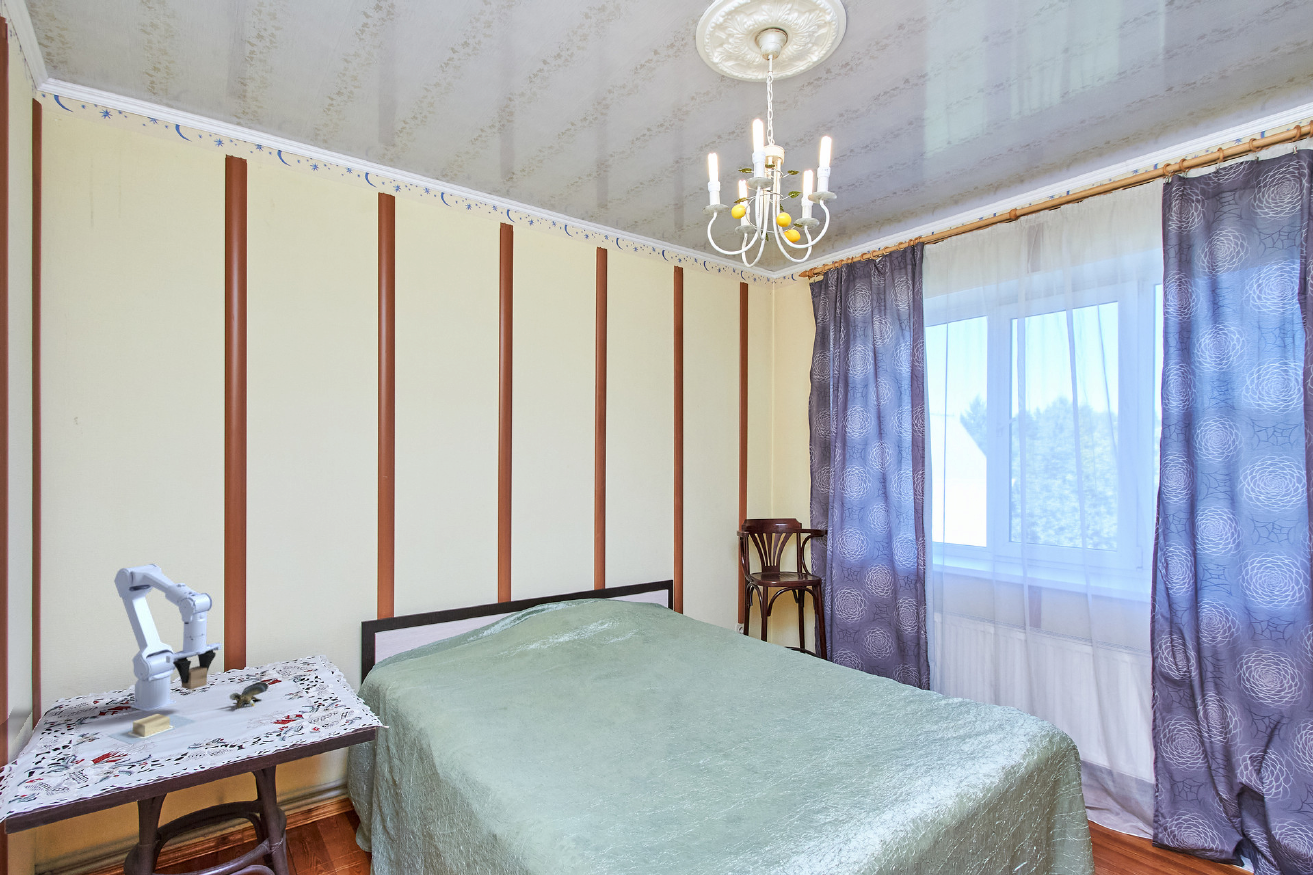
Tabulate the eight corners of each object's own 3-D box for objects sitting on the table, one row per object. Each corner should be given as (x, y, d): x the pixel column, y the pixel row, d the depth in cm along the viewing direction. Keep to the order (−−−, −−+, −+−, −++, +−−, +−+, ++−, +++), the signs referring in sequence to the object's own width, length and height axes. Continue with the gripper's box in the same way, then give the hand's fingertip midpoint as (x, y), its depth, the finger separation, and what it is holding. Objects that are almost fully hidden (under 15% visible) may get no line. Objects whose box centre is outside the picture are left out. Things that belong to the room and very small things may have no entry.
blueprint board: (107, 737, 171) (107, 735, 171) (172, 715, 185) (172, 713, 185) (131, 745, 166) (131, 743, 166) (196, 722, 180) (196, 720, 180)
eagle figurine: (253, 707, 189) (274, 691, 197) (239, 688, 188) (260, 673, 197) (235, 719, 190) (257, 702, 199) (221, 700, 189) (243, 684, 198)
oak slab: (132, 732, 173) (132, 721, 173) (157, 724, 178) (157, 713, 178) (144, 736, 170) (145, 725, 170) (169, 727, 176) (169, 717, 176)
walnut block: (181, 687, 187) (182, 670, 188) (197, 682, 192) (198, 665, 192) (190, 689, 186) (191, 672, 186) (206, 684, 190) (207, 668, 190)
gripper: (176, 642, 181) (175, 689, 180) (228, 630, 194) (226, 674, 194) (162, 639, 184) (160, 686, 183) (213, 627, 197) (212, 670, 197)
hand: (193, 679), depth 189 cm, fingers closed on walnut block, 4 cm apart
